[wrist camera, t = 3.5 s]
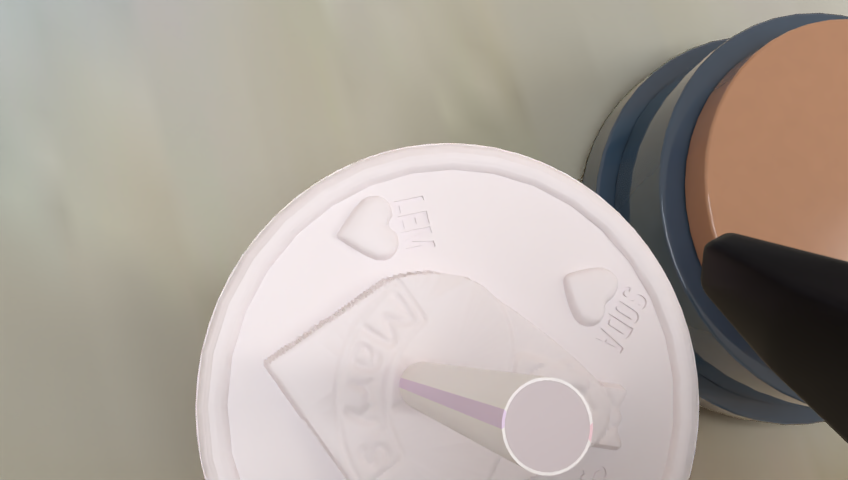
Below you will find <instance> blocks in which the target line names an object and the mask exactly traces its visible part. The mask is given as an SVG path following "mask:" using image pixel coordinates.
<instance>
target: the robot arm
mask: <svg viewBox="0 0 848 480" xmlns="http://www.w3.org/2000/svg"><path fill="white" fill-rule="evenodd" d="M701 285H702V288H703V290H704V292H705V293H706V295H707V296H708V297H709V298H710V300H711V301H712V302H713V303H714V304H715V305H716V307H717V308H718V309H719V310H720V311H721V312H722V314H723V315H724V316H725V317H726V318H727V319H728V321H729V322H730V323H731V324H732V325H733V327H734V328H735V329H736V330H737V331H738V332H739V334H740V335H741V336H742V337H743V338H744V339H745V341H746V342H747V343H748V344H749V345H750V346H751V348H752V349H753V350H754V351H755V352H756V353H757V355H758V356H759V357H760V358H761V359H762V360H763V361H764V362H765V363H766V365H767V366H768V367H769V368H770V369H771V370H772V371H773V372H774V373H775V374H776V375H777V376H778V377H779V378H780V379H781V380H782V381H783V382H784V383H785V384H786V385H787V386H788V387H789V388H791V389H792V390H793V391H794V392H795V393H796V394H797V395H798V396H799V397H800V398H801V399H802V400H803V401H804V402H805V403H806V404H807V405H808V406H809V407H810V408H811V409H813V410H814V411H815V412H816V413H817V414H818V415H819V416H820V417H821V418H822V419H823V420H824V421H825V422H826V423H827V424H828V425H829V426H830V427H831V428H832V429H833V430H835V431H836V432H837V433H838V434H839V435H840V436H841V437H842V438H843V439H844V440H845V441H846V442H847V443H848V261H844V260H840V259H836V258H832V257H828V256H824V255H820V254H816V253H812V252H808V251H804V250H800V249H796V248H792V247H788V246H784V245H780V244H776V243H772V242H769V241H765V240H761V239H757V238H753V237H749V236H745V235H741V234H737V233H725V234H723V235H721V236H719V237H717V238H715V239H713V240H712V241H710V242H708V243H707V244H706V245H705V247H704V251H703V260H702V269H701Z"/></svg>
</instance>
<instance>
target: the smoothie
mask: <svg viewBox="0 0 848 480" xmlns="http://www.w3.org/2000/svg"><path fill="white" fill-rule="evenodd" d="M195 407H196V431H197V440H198V447H199V454H200V461H201V465H202V469H203V473H204V477H205V480H689V478H690V475H691V470H692V465H693V461H694V456H695V451H696V443H697V435H698V425H699V389H698V376H697V369H696V362H695V355H694V350H693V346H692V342H691V338H690V333H689V330H688V327H687V324H686V321H685V318H684V315H683V311H682V309H681V306H680V304H679V302H678V299H677V297H676V295H675V292H674V290H673V288H672V286H671V284H670V282H669V280H668V278H667V276H666V274H665V273H664V271H663V269H662V267H661V265H660V264H659V262H658V261H657V259H656V258H655V256H654V255H653V253H652V252H651V250H650V249H649V247H648V246H647V245H646V243H645V242H644V241H643V240H642V238H641V237H640V236H639V234H638V233H637V232H636V231H635V229H634V228H633V227H632V226H631V225H630V224H629V223H628V222H627V221H626V220H625V219H624V218H623V217H622V216H621V215H620V214H619V213H618V212H617V211H616V210H615V209H614V208H613V207H612V206H611V205H609V204H608V203H607V202H606V201H605V200H604V199H603V198H601V197H600V196H599V195H598V194H596V193H595V192H593V191H592V190H591V189H589V188H588V187H587V186H585V185H584V184H582V183H581V182H579V181H577V180H576V179H574V178H572V177H571V176H569V175H567V174H566V173H564V172H562V171H560V170H558V169H556V168H554V167H552V166H550V165H547V164H545V163H543V162H541V161H538V160H535V159H533V158H530V157H527V156H524V155H522V154H518V153H515V152H511V151H507V150H503V149H499V148H494V147H487V146H481V145H474V144H458V143H441V144H424V145H417V146H410V147H403V148H399V149H395V150H391V151H386V152H382V153H379V154H376V155H373V156H370V157H368V158H365V159H362V160H359V161H357V162H354V163H352V164H350V165H348V166H346V167H343V168H341V169H339V170H337V171H335V172H333V173H332V174H330V175H328V176H327V177H325V178H323V179H321V180H320V181H318V182H316V183H315V184H313V185H312V186H311V187H309V188H308V189H306V190H305V191H304V192H302V193H301V194H300V195H298V196H297V197H295V198H294V199H293V200H292V201H291V202H290V203H289V204H287V205H286V206H285V207H284V208H283V209H282V210H281V211H280V212H278V213H277V214H276V215H275V216H274V217H273V218H272V220H271V221H270V222H269V223H268V224H267V225H266V226H265V227H264V228H263V229H262V230H261V231H260V232H259V234H258V235H257V236H256V238H255V239H254V240H253V242H252V243H251V244H250V245H249V247H248V248H247V249H246V251H245V252H244V253H243V255H242V256H241V258H240V260H239V261H238V263H237V265H236V266H235V268H234V269H233V271H232V273H231V274H230V276H229V278H228V280H227V282H226V284H225V286H224V288H223V290H222V292H221V294H220V296H219V298H218V301H217V303H216V306H215V309H214V311H213V314H212V317H211V319H210V322H209V325H208V328H207V332H206V336H205V340H204V344H203V348H202V351H201V357H200V364H199V370H198V376H197V389H196V406H195Z"/></svg>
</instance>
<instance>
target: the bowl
mask: <svg viewBox="0 0 848 480" xmlns="http://www.w3.org/2000/svg"><path fill="white" fill-rule="evenodd" d="M582 184H584V185H585V186H587V187H588V188H589V189H591V190H592V191H593V192H595V193H596V194H598V195H599V196H600V197H601V198H603V199H604V200H605V201H606V202H607V203H608V204H609V205H611V206H612V207H613V208H614V209H615V210H616V211H617V212H618V213H619V214H620V215H621V216H622V217H623V218H624V219H625V220H626V221H627V222H628V223H629V224H630V225H631V226H632V227H633V228H634V229H635V231H636V232H637V233H638V234H639V236H640V237H641V238H642V240H643V241H644V242H645V243H646V245H647V246H648V247H649V249H650V250H651V252H652V253H653V255H654V256H655V258H656V259H657V261H658V262H659V264H660V265H661V267H662V269H663V271H664V273H665V274H666V276H667V278H668V280H669V282H670V284H671V286H672V288H673V290H674V292H675V295H676V297H677V299H678V302H679V304H680V306H681V309H682V311H683V315H684V318H685V321H686V324H687V327H688V330H689V333H690V338H691V342H692V346H693V350H694V355H695V362H696V369H697V376H698V389H699V406H702V407H704V408H706V409H709V410H711V411H713V412H717V413H721V414H724V415H728V416H731V417H735V418H740V419H746V420H752V421H759V422H766V423H774V424H781V425H803V424H813V423H819V422H825V421H824V420H823V419H822V418H821V417H820V416H819V415H818V414H817V413H816V412H815V411H814V410H813V409H811V408H810V407H809V406H808V405H807V404H806V403H805V402H804V401H803V400H802V399H801V398H800V397H799V396H798V395H797V394H796V393H795V392H794V391H793V390H792V389H791V388H789V387H788V386H787V385H786V384H785V383H784V382H783V381H782V380H781V379H780V378H779V377H778V376H777V375H776V374H775V373H774V372H773V371H772V370H771V369H770V368H769V367H768V366H767V365H766V363H765V362H764V361H763V360H762V359H761V358H760V357H759V356H758V355H757V353H756V352H755V351H754V350H753V349H752V348H751V346H750V345H749V344H748V343H747V342H746V341H745V339H744V338H743V337H742V336H741V335H740V334H739V332H738V331H737V330H736V329H735V328H734V327H733V325H732V324H731V323H730V322H729V321H728V319H727V318H726V317H725V316H724V315H723V314H722V312H721V311H720V310H719V309H718V308H717V307H716V305H715V304H714V303H713V302H712V301H711V300H710V298H709V297H708V296H707V295H706V293H705V292H704V290H703V288H702V285H701V269H702V260H703V251H704V247H705V245H706V244H707V243H708V242H710V241H712V240H713V239H715V238H717V237H719V236H721V235H723V234H725V233H737V234H741V235H745V236H749V237H753V238H757V239H761V240H765V241H769V242H772V243H776V244H780V245H784V246H788V247H792V248H796V249H800V250H804V251H808V252H812V253H816V254H820V255H824V256H828V257H832V258H836V259H840V260H844V261H848V17H847V16H843V15H834V14H824V13H809V14H794V15H788V16H783V17H778V18H773V19H770V20H767V21H765V22H762V23H759V24H756V25H753V26H751V27H749V28H747V29H746V30H744V31H742V32H740V33H738V34H736V35H734V36H733V37H731V38H728V39H723V40H717V41H712V42H709V43H706V44H703V45H700V46H697V47H695V48H692V49H689V50H687V51H685V52H684V53H682V54H680V55H678V56H676V57H674V58H672V59H670V60H669V61H668V62H666V63H665V64H664V65H662V66H661V67H660V68H658V69H657V70H655V71H654V72H653V73H651V74H650V75H649V76H648V77H646V78H645V79H644V80H643V81H641V82H640V83H639V84H637V85H636V86H635V87H634V88H633V89H632V90H631V91H630V92H629V93H628V94H627V95H626V96H625V97H624V98H623V99H622V100H621V101H620V102H619V103H618V105H617V106H616V107H615V109H614V110H613V111H612V113H611V114H610V115H609V117H608V118H607V119H606V121H605V123H604V125H603V126H602V128H601V130H600V132H599V134H598V136H597V138H596V139H595V142H594V145H593V147H592V150H591V153H590V155H589V158H588V161H587V164H586V168H585V173H584V177H583V182H582Z"/></svg>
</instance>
